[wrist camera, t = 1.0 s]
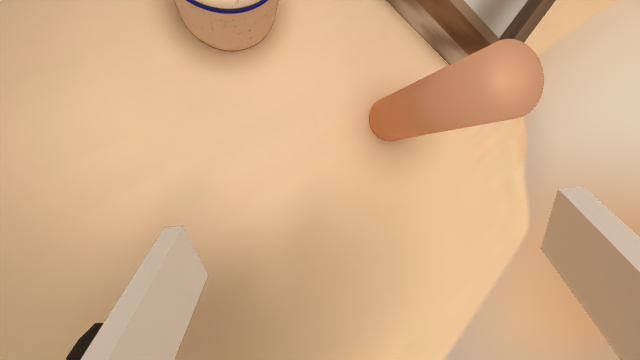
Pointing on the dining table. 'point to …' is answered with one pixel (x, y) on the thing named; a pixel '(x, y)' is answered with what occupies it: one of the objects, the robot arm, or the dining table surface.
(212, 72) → the dining table surface
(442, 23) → the box
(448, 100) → the peg
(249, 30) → the teacup with lid
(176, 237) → the robot arm
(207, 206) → the dining table surface
